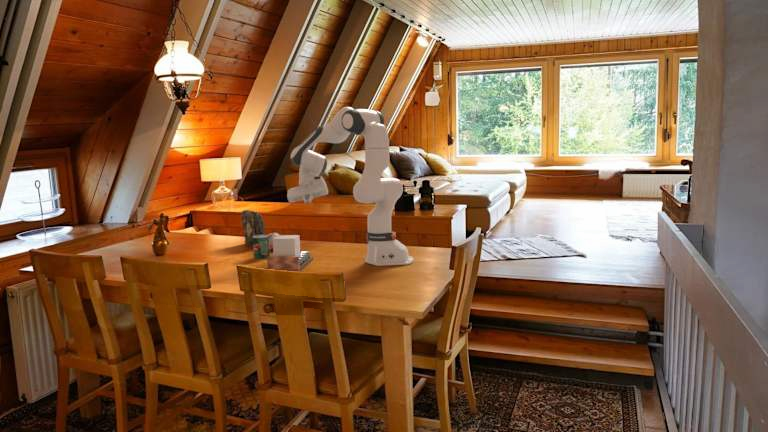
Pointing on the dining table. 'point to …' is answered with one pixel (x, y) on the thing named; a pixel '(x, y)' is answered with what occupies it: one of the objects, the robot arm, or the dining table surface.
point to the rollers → (304, 257)
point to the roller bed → (287, 263)
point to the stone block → (252, 225)
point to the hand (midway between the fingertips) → (307, 202)
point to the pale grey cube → (286, 245)
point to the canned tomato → (261, 247)
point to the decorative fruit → (272, 239)
